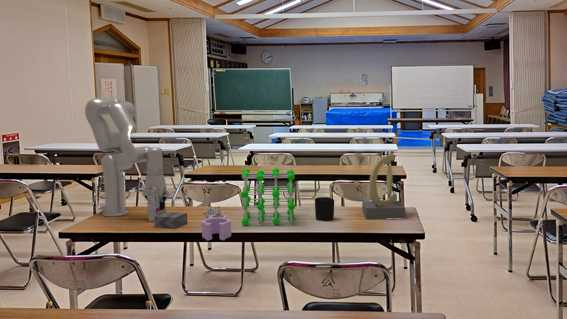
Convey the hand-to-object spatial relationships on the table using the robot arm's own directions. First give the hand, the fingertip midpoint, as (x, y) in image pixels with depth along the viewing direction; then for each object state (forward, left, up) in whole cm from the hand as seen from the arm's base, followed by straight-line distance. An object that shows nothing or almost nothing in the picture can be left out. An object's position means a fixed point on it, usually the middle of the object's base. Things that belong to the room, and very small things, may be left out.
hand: (156, 208), depth 301 cm
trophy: (+104, +40, -5) cm, 112 cm away
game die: (+31, 0, -5) cm, 31 cm away
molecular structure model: (+54, +13, -5) cm, 56 cm away
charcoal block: (+14, -10, -5) cm, 18 cm away
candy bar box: (0, 0, -5) cm, 5 cm away
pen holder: (+79, +23, -5) cm, 82 cm away
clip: (+43, -21, -5) cm, 48 cm away
